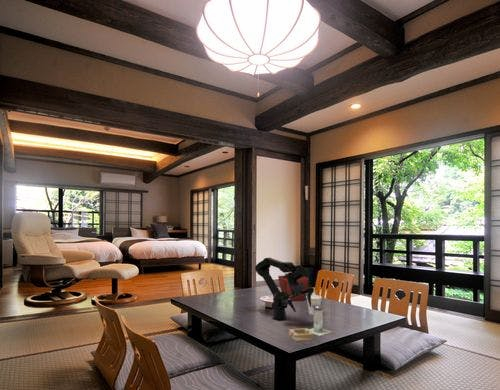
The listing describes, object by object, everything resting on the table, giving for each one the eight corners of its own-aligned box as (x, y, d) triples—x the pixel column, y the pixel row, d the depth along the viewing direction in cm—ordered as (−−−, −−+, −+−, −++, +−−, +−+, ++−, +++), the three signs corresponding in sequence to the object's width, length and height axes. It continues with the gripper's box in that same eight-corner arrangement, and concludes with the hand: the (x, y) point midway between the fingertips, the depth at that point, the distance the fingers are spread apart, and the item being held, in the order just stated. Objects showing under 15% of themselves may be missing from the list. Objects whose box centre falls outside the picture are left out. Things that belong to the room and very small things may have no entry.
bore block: (288, 335, 168) (288, 329, 168) (306, 333, 170) (306, 327, 171) (295, 342, 158) (295, 335, 159) (314, 340, 161) (314, 334, 161)
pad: (305, 331, 174) (305, 330, 174) (317, 328, 180) (317, 327, 180) (319, 336, 166) (319, 335, 166) (332, 332, 172) (332, 331, 172)
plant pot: (278, 297, 256) (277, 275, 258) (301, 296, 260) (300, 274, 261) (284, 302, 238) (284, 279, 239) (309, 301, 241) (309, 278, 243)
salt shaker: (312, 332, 171) (312, 307, 172) (313, 328, 176) (312, 304, 177) (323, 333, 169) (323, 307, 170) (324, 329, 175) (323, 305, 176)
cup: (319, 312, 212) (319, 295, 213) (323, 316, 202) (323, 298, 203) (304, 312, 212) (304, 295, 213) (308, 316, 202) (307, 298, 203)
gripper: (279, 284, 181) (288, 312, 174) (310, 274, 184) (321, 301, 176) (278, 288, 191) (287, 315, 184) (307, 279, 193) (317, 305, 186)
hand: (303, 309), depth 182 cm, fingers open, 9 cm apart
